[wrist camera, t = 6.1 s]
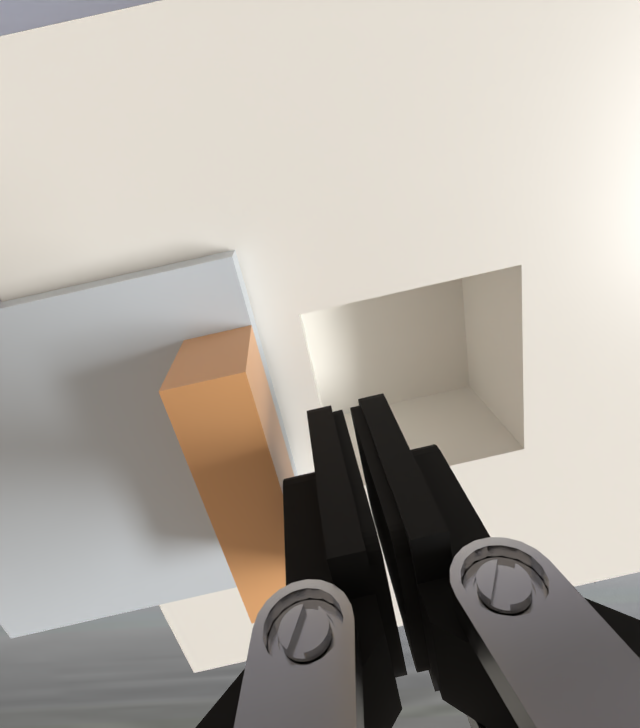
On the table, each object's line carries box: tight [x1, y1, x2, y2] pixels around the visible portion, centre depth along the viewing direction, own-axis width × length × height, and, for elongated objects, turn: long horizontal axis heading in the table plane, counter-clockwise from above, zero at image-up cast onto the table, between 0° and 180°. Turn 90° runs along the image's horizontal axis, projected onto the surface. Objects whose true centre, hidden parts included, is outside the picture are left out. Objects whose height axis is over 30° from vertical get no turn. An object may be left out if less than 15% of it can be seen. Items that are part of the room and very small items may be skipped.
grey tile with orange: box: [0, 250, 298, 638], centre depth 10 cm, size 9×9×3 cm
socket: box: [0, 0, 640, 673], centre depth 15 cm, size 18×18×7 cm
